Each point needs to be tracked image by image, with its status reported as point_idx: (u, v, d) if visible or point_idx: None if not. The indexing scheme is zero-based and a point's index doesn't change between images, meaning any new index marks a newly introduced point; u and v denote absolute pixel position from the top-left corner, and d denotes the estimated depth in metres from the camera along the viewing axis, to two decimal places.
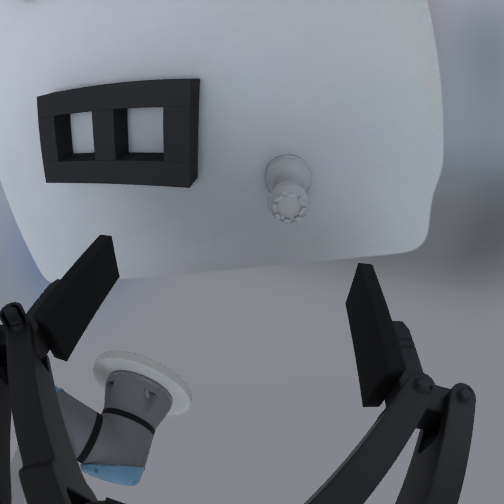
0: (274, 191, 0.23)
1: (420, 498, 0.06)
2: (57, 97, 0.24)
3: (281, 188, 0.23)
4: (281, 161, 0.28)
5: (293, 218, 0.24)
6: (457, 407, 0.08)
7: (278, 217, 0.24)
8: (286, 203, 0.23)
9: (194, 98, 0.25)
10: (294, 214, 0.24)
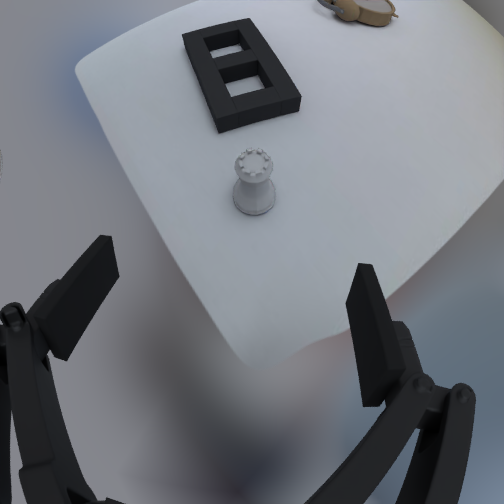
0: None
1: (420, 498, 0.06)
2: (253, 29, 0.35)
3: (265, 153, 0.26)
4: None
5: (244, 170, 0.25)
6: (457, 407, 0.08)
7: (241, 156, 0.25)
8: (256, 159, 0.25)
9: (286, 106, 0.33)
10: (249, 169, 0.25)
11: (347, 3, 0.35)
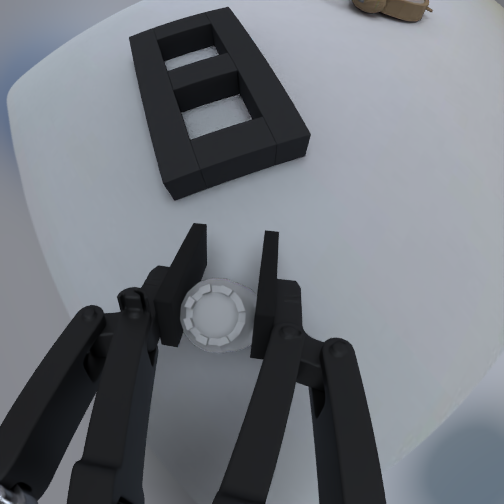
0: (227, 281, 0.13)
1: (334, 466, 0.07)
2: (233, 22, 0.22)
3: (239, 289, 0.13)
4: (252, 293, 0.19)
5: (197, 333, 0.12)
6: (335, 364, 0.10)
7: (189, 305, 0.12)
8: (220, 307, 0.12)
9: (284, 151, 0.21)
10: (206, 331, 0.12)
11: None
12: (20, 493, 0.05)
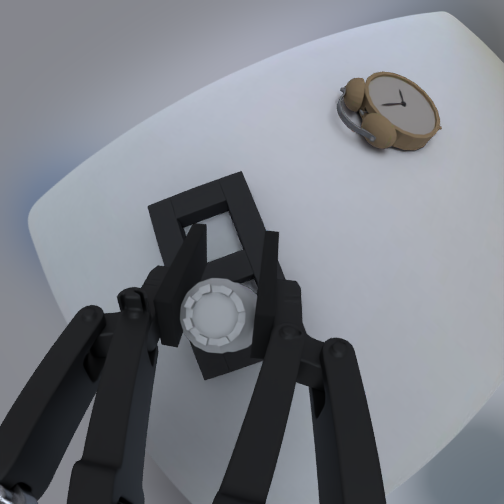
0: (227, 281, 0.13)
1: (334, 465, 0.07)
2: (247, 200, 0.30)
3: (239, 289, 0.13)
4: (252, 293, 0.19)
5: (197, 333, 0.12)
6: (336, 364, 0.10)
7: (188, 305, 0.12)
8: (219, 308, 0.12)
9: None
10: (205, 331, 0.12)
11: (381, 128, 0.31)
12: (20, 493, 0.05)
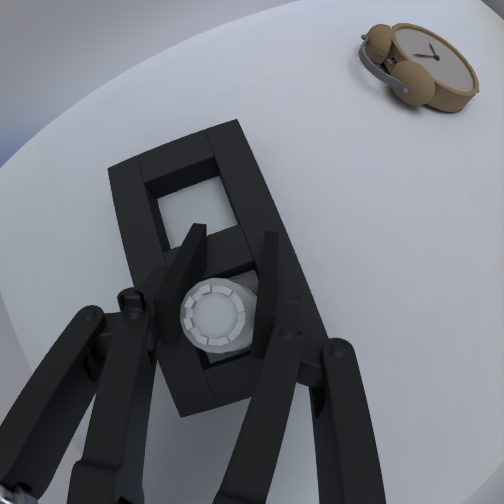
0: (227, 281, 0.13)
1: (334, 466, 0.07)
2: (244, 155, 0.20)
3: (239, 289, 0.13)
4: (252, 293, 0.19)
5: (197, 333, 0.12)
6: (336, 364, 0.10)
7: (188, 305, 0.12)
8: (219, 307, 0.12)
9: None
10: (205, 331, 0.12)
11: (417, 76, 0.21)
12: (20, 493, 0.05)
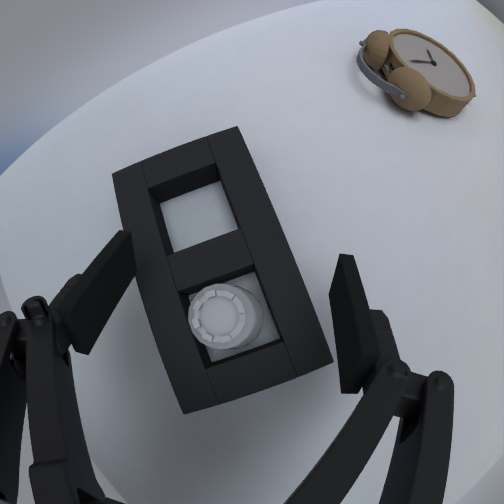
0: (229, 286, 0.15)
1: (405, 489, 0.06)
2: (244, 161, 0.21)
3: (240, 293, 0.15)
4: (252, 296, 0.20)
5: (203, 332, 0.14)
6: (435, 395, 0.08)
7: (196, 307, 0.14)
8: (223, 309, 0.14)
9: None
10: (211, 330, 0.14)
11: (413, 83, 0.22)
12: None
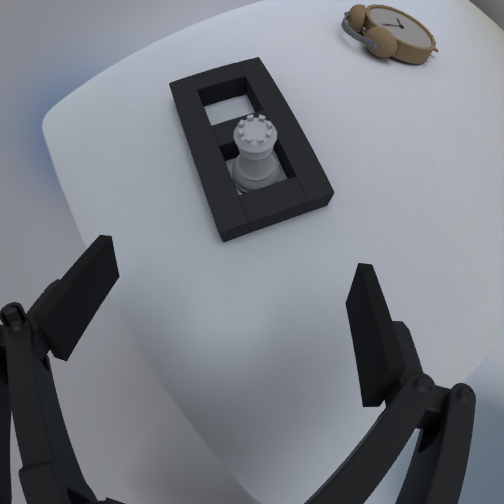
0: None
1: (420, 498, 0.06)
2: (264, 75, 0.28)
3: (268, 121, 0.22)
4: (271, 154, 0.28)
5: None
6: (457, 407, 0.08)
7: (241, 123, 0.21)
8: (258, 126, 0.22)
9: (312, 204, 0.26)
10: (250, 137, 0.21)
11: (382, 35, 0.29)
12: None
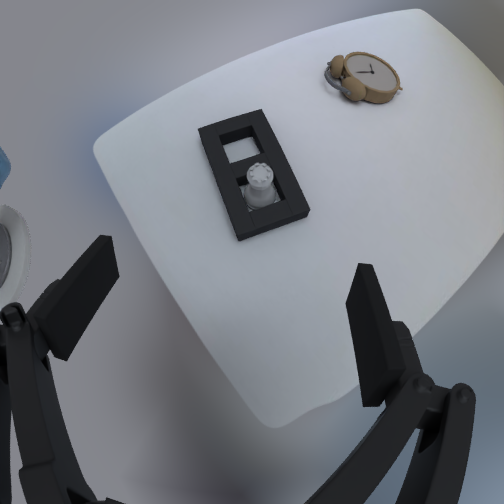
0: None
1: (420, 498, 0.06)
2: (265, 125, 0.43)
3: (268, 166, 0.37)
4: (270, 183, 0.43)
5: (254, 178, 0.37)
6: (457, 407, 0.08)
7: (251, 168, 0.36)
8: (261, 170, 0.37)
9: (296, 217, 0.42)
10: (257, 177, 0.36)
11: (354, 85, 0.44)
12: None
